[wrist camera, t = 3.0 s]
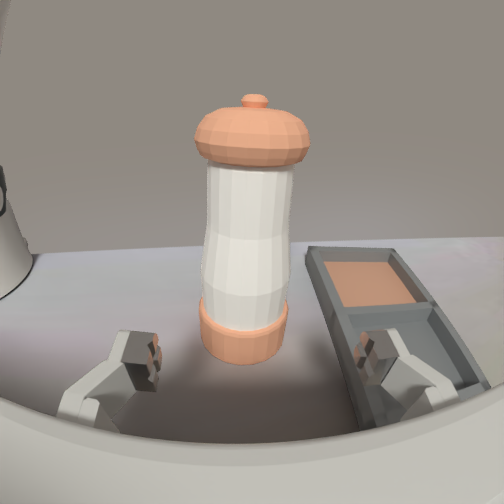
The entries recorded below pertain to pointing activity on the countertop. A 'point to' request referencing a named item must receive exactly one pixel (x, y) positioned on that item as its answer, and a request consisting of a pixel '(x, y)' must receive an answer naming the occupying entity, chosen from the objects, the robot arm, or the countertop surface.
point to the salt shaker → (247, 227)
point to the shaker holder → (386, 323)
